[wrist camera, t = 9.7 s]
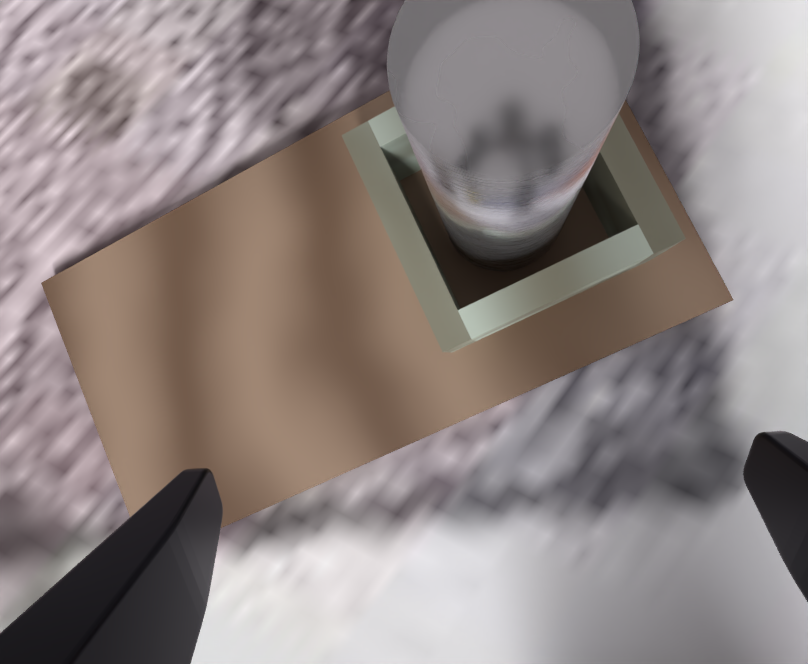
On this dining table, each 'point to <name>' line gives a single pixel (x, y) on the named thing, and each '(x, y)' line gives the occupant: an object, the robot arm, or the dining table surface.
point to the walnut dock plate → (354, 311)
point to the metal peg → (509, 111)
